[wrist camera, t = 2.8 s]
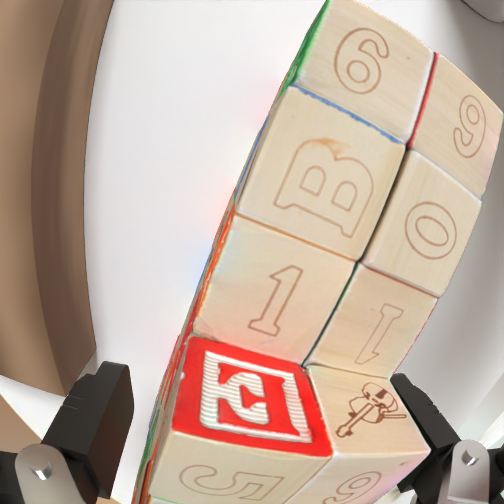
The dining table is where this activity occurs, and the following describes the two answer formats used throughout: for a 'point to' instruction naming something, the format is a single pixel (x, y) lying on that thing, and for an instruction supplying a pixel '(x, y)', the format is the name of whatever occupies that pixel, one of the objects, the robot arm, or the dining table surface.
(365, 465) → the stack of blocks
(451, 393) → the dining table surface
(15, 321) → the walnut block
